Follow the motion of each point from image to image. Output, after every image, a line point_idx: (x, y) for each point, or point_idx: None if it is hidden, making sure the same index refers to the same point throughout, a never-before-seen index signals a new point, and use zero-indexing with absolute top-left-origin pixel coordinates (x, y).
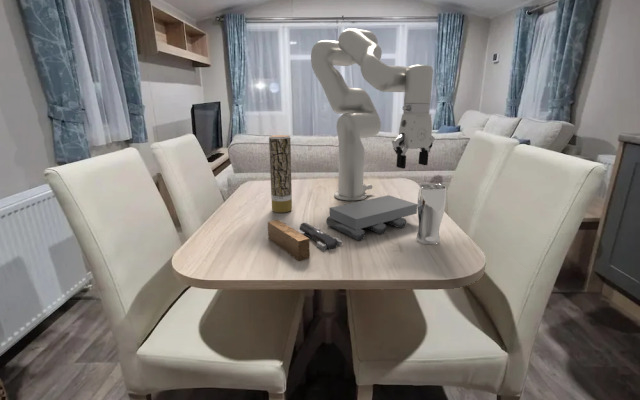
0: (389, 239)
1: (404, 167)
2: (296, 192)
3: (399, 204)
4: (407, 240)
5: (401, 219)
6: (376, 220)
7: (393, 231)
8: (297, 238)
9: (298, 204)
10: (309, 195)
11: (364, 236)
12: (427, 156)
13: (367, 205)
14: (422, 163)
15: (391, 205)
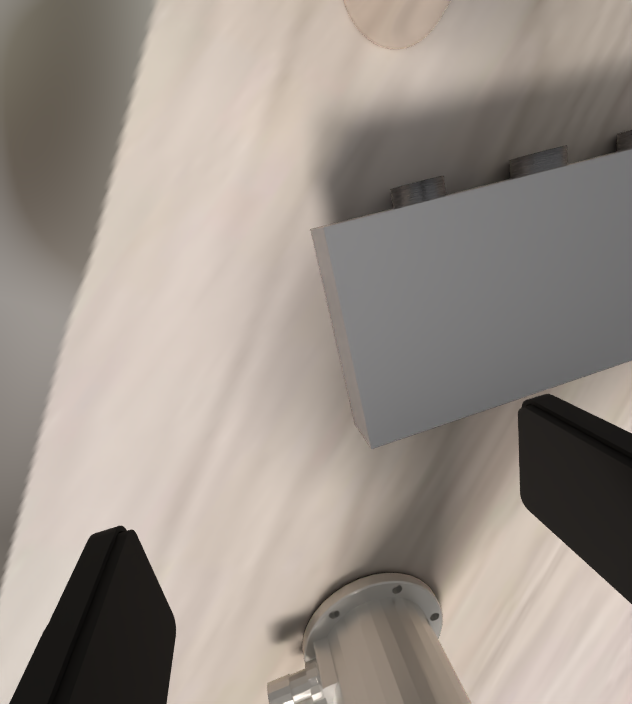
0: (530, 89)
1: (546, 397)
2: (520, 684)
3: (426, 263)
4: (474, 37)
5: (438, 177)
6: (600, 156)
7: (460, 169)
8: None
9: (582, 560)
10: (500, 650)
11: (621, 133)
12: (46, 672)
13: (577, 306)
14: (149, 583)
15: (477, 261)
